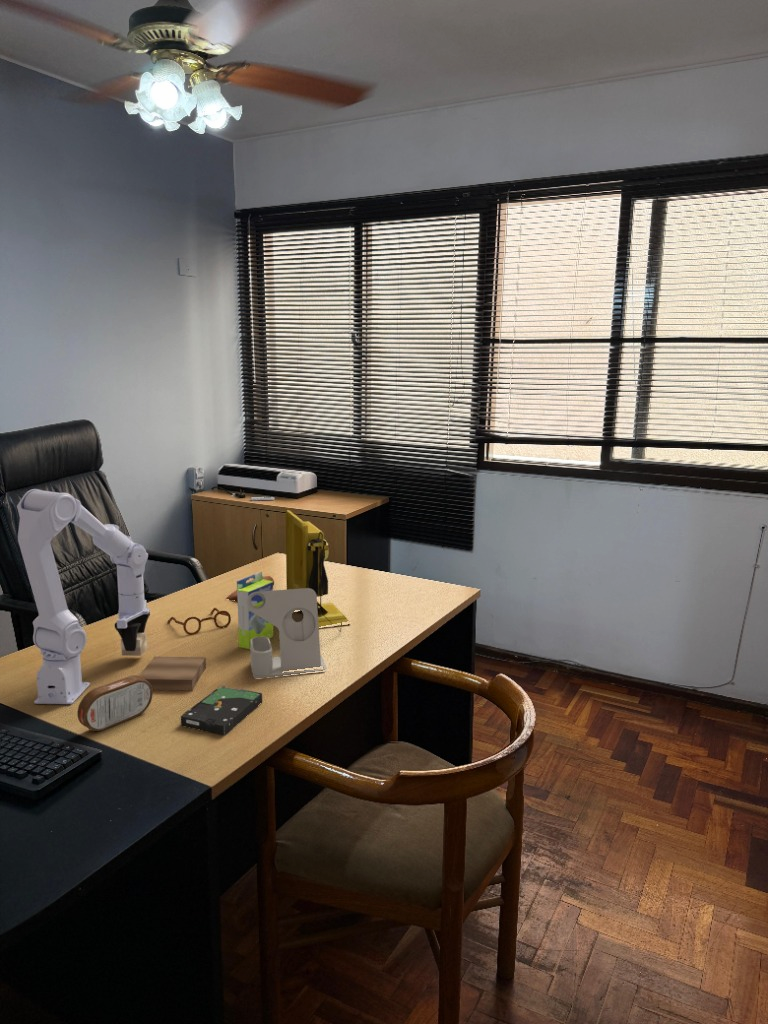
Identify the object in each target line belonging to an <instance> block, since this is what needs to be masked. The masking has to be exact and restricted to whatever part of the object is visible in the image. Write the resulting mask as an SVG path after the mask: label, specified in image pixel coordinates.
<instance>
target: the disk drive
mask: <svg viewBox="0 0 768 1024" xmlns="http://www.w3.org/2000/svg"><path fill="white" fill-rule="evenodd" d="M260 703H261V704H263V693H262V692H257V691H253V690H249V689H248V690H247V689H243V688H240V689H239V688H238V689H237V688H233V687H232V688H231V687H228V686H227V685H222V686H220V687H218V688H216V689H214V690H213V691H212V692H211V693H210V694H208V695H206V696H205V697H204V698H203V699H201V700H200V701H199V702H197V703H196V704H194V705H193V706H192V707H191V708H189V709H187V710H186V711H185V712H184V713H182V715H180V726H181V727H183V726H186V727H185V728H188V727H190V728H189V729H192V728H195V729H194V730H197V729H200V730H199V731H201V730H203V731H202V732H206V731H207V733H211V734H215V735H220V736H226V735H228V734H229V733H230V732H231V731H233V729H235V727H237V724H238V723H239V724H240V723H241V722H242V721H244V719H245V718H247V717H248V716H249V715H250V714H251V713H252V712H254V711H255V710H256V709H258V707H259V706H260V705H261V704H260ZM259 704H260V705H259ZM258 705H259V706H258ZM254 709H255V710H254ZM247 715H248V716H247ZM246 716H247V717H246ZM239 724H238V725H239Z"/></svg>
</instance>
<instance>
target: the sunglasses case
mask: <svg viewBox="0 0 768 1024" xmlns="http://www.w3.org/2000/svg"><path fill="white" fill-rule="evenodd" d="M262 579H264V580H269V581H273V586H274V585H275V580H274V578H273V577H272V576H270V575H266V576H265V575H264V576H262ZM251 581H253V579H252V580H250V581H248V582H251ZM248 582H247V581H246V583H248ZM225 599H229V600H235V601H238V597H237V589H235V590H234V591H233V592H232V593H230V594H229V595H228V596H227V597H226V598H225ZM235 601H234V602H235Z"/></svg>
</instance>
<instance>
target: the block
mask: <svg viewBox="0 0 768 1024" xmlns="http://www.w3.org/2000/svg"><path fill="white" fill-rule="evenodd" d="M147 640H148V639H147V632H144V633H137V642H136V649H135V651H126V650H125V647H124V644H123V641H122V638H120V646H121V656H127V657H130V656H131V657H132V656H133V657H137V656H138V657H141V656H142V655H143V654H144V653H145V651H146V650H147V649H148V641H147Z"/></svg>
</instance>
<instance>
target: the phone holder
mask: <svg viewBox="0 0 768 1024" xmlns="http://www.w3.org/2000/svg"><path fill="white" fill-rule="evenodd" d="M255 595H259V596H261V597H262V599H263V603H262V605H261V606H259V607H254V606H253V605H252V604H251V599H252V597H253V596H255ZM317 601H318V597H317V595H316V593H315V591H314V590H313V589H310V588H302V589H287V588H286V589H276V590H274V589H273V591H260V592H253V593H251V594H250V595H249V596H248V599H247V607H248V609H249V611H251V612H252V613H254V614H256V615H257V616H259V617H261V618H262V619H264V620H266V621H267V622H269V623H271V624H272V625H273V627H276V628H277V629H278V636H279V637H278V638H279V639H278V640H279V653H280V654H279V655H280V656H273V647H272V644H271V643H272V642H271V641H270V639H269V638H267V637H255V638H253V639H251V641H250V649H249V650H250V667H251V668H252V669H251V674H252V673H253V674H252V678H253V677H254V678H253V679H255V678H266V679H268V678H267V677H275V676H283V675H291V674H300V673H306V672H315V671H323V670H325V669H326V668H327V665H326V663H325V661H324V658H323V655H322V654H321V644H320V643H321V642H320V631H319V630H320V629H319V626H318V610H317ZM295 610H300V611H302V612H301V613H302V615H303V614H304V618H303V617H302V620H301V621H295V620H294V619H293V613H295V612H294V611H295ZM320 666H323V669H314V670H304V671H294V672H284V673H282V672H283V671H289V670H297V669H305V668H313V667H320ZM327 669H328V668H327Z"/></svg>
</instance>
